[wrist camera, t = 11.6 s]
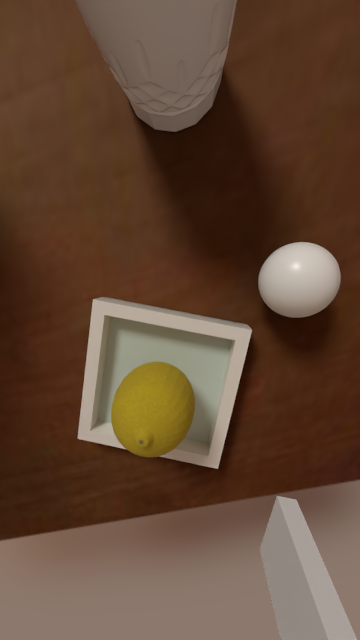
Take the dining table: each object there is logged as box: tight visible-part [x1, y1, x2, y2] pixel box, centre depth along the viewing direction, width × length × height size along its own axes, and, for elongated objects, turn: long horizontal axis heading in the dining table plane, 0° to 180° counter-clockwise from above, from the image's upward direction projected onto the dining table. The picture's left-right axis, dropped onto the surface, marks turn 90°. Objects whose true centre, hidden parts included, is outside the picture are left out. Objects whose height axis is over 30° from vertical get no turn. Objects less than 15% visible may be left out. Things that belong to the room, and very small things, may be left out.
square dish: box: [78, 297, 252, 469], centre depth 21 cm, size 12×12×2 cm
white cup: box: [74, 0, 237, 132], centre depth 13 cm, size 8×8×10 cm
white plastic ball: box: [258, 242, 341, 318], centre depth 17 cm, size 5×5×5 cm
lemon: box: [111, 362, 195, 457], centre depth 17 cm, size 6×6×8 cm
